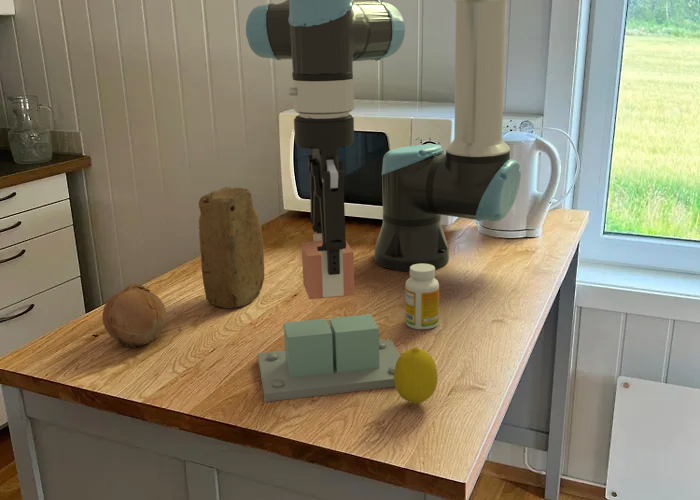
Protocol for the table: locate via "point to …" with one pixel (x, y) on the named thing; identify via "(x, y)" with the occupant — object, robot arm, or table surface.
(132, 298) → the onion
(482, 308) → the table surface
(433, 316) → the supplement bottle
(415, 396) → the lemon
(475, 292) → the table surface
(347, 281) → the brick block
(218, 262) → the rough sandstone chunk
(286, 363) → the build plate
